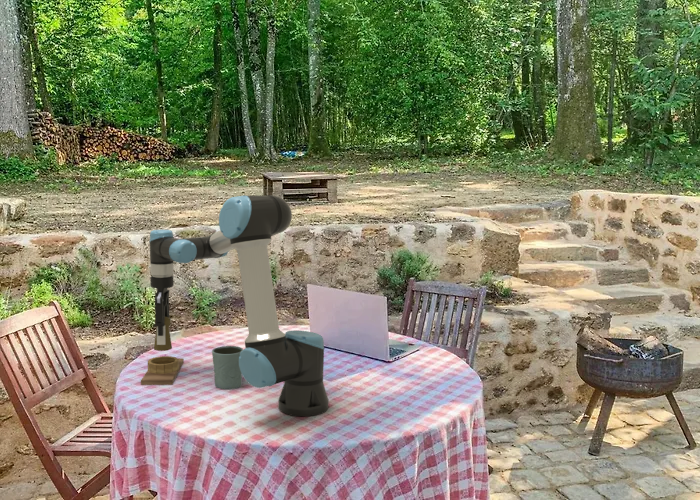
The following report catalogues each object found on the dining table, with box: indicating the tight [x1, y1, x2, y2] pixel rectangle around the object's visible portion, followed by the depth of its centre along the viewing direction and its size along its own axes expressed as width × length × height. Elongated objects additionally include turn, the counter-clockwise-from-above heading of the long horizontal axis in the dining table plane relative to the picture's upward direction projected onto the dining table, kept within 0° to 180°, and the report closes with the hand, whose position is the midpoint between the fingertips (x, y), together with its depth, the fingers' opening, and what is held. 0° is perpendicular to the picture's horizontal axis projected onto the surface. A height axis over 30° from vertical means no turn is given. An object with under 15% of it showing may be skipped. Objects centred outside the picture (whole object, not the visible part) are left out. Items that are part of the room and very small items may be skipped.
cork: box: [153, 317, 173, 352], centre depth 223 cm, size 6×6×11 cm
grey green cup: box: [211, 345, 244, 390], centre depth 213 cm, size 10×10×12 cm
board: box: [140, 355, 185, 386], centre depth 224 cm, size 24×10×4 cm, turn 6°
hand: (162, 341), depth 223 cm, fingers closed on cork, 5 cm apart
